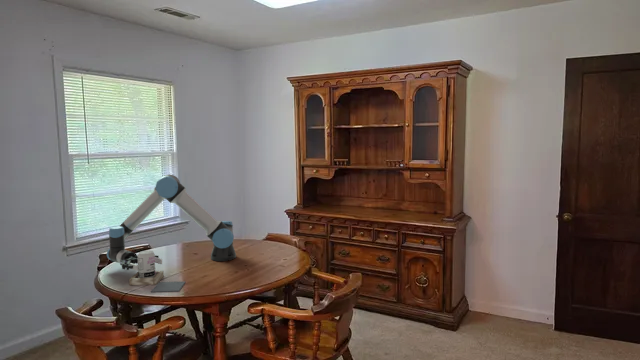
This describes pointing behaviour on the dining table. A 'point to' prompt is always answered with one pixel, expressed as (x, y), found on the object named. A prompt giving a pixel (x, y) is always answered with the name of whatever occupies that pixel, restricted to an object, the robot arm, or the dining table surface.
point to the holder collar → (146, 279)
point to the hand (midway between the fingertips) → (149, 264)
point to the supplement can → (146, 264)
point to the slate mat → (168, 287)
